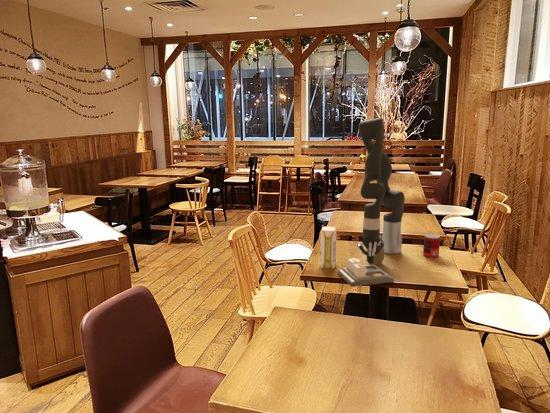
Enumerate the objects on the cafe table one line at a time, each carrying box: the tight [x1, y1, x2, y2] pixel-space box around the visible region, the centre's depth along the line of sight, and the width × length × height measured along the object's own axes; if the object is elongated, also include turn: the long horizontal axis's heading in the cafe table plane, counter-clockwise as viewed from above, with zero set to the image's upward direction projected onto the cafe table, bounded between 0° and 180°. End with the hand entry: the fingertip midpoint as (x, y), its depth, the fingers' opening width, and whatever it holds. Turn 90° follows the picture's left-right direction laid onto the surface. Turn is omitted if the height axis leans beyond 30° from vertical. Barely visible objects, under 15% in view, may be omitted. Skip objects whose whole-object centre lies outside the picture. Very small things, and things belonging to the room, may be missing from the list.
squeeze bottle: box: [370, 234, 385, 266], centre depth 204 cm, size 8×8×18 cm
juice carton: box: [319, 226, 337, 270], centre depth 201 cm, size 8×9×19 cm
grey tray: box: [337, 264, 395, 288], centre depth 188 cm, size 20×15×3 cm
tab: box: [353, 262, 366, 278], centre depth 183 cm, size 4×4×6 cm
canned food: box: [422, 233, 441, 259], centre depth 215 cm, size 8×8×11 cm
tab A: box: [347, 257, 361, 272], centre depth 190 cm, size 4×4×6 cm
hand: (370, 262), depth 191 cm, fingers closed
